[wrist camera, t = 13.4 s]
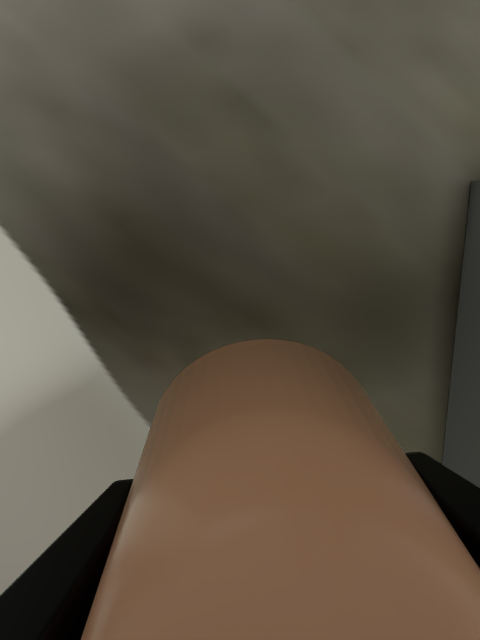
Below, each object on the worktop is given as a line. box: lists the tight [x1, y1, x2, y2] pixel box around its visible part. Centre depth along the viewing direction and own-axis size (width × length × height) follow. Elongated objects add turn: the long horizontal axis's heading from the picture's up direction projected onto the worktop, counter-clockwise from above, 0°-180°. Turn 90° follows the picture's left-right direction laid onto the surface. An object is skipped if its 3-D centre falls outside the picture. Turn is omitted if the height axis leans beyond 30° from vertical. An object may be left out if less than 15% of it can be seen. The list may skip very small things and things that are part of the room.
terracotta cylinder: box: [81, 339, 480, 640], centre depth 5 cm, size 5×5×7 cm
